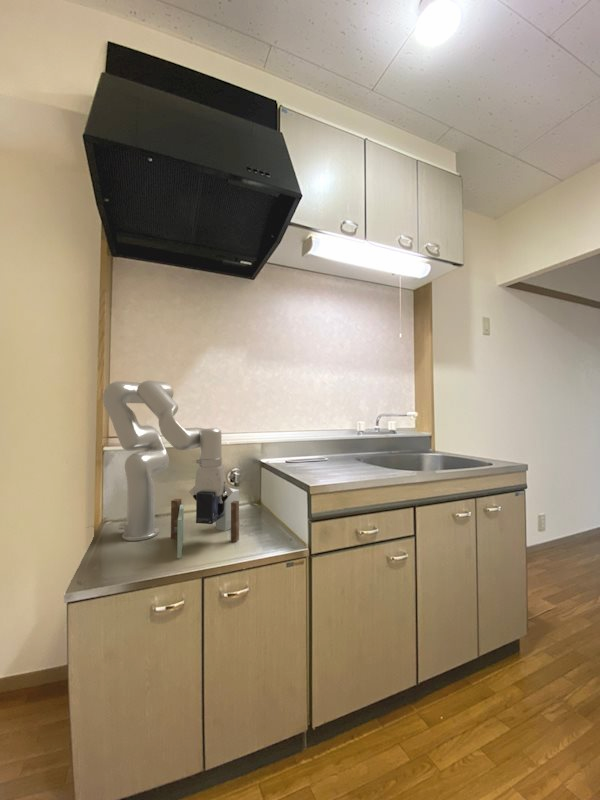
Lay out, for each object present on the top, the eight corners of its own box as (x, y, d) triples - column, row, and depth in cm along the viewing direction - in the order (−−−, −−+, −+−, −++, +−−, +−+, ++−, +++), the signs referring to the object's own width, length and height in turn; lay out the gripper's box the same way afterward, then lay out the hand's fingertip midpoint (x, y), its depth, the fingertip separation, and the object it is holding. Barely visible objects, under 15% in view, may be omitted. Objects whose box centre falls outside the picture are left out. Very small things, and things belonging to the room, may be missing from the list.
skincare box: (229, 522, 138) (229, 487, 139) (240, 525, 135) (240, 489, 136) (214, 528, 131) (214, 491, 132) (225, 531, 128) (225, 493, 129)
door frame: (170, 539, 121) (171, 500, 121) (174, 536, 124) (175, 498, 124) (236, 542, 118) (236, 503, 118) (238, 539, 121) (238, 500, 121)
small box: (212, 524, 111) (212, 493, 111) (195, 523, 112) (195, 493, 113) (225, 515, 121) (225, 486, 122) (209, 514, 123) (209, 486, 123)
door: (176, 536, 122) (176, 504, 122) (183, 535, 123) (183, 503, 123) (172, 558, 104) (172, 520, 104) (181, 557, 105) (181, 519, 105)
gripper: (182, 464, 115) (182, 516, 114) (230, 465, 113) (230, 517, 112) (192, 461, 122) (192, 509, 122) (237, 461, 120) (237, 511, 120)
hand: (210, 513), depth 117 cm, fingers closed on small box, 6 cm apart
